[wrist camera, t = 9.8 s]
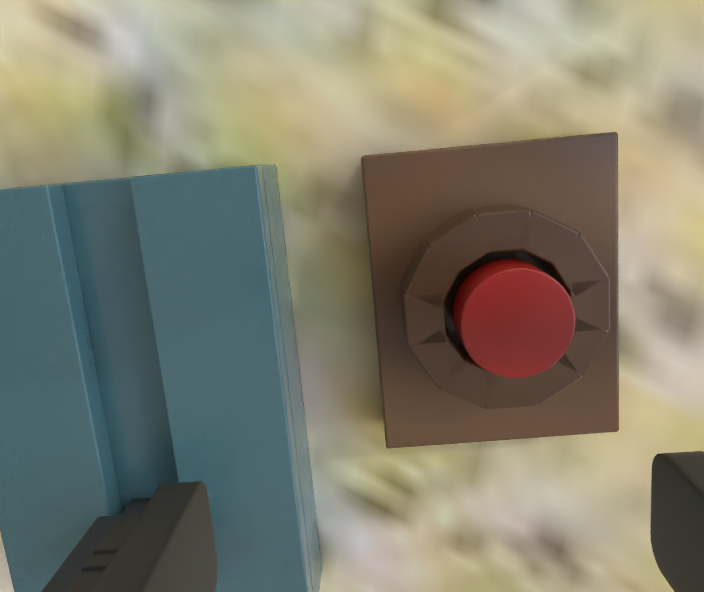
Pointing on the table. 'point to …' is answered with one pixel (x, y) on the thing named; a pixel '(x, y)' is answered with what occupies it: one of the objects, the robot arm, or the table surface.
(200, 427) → the control base
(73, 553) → the slider
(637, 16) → the table surface
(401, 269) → the panel
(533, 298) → the button
